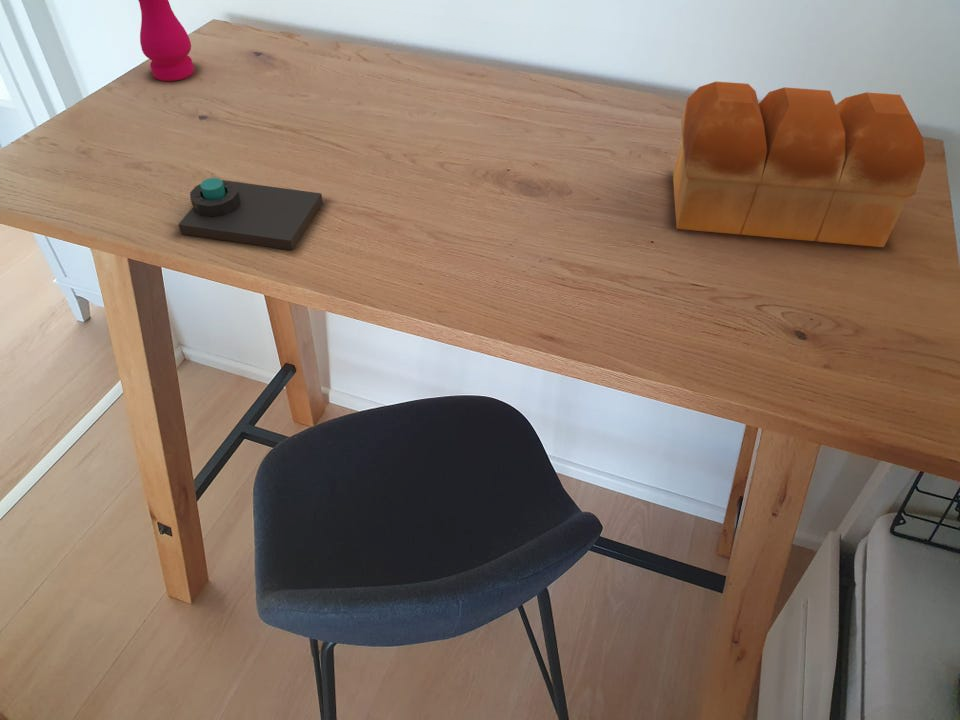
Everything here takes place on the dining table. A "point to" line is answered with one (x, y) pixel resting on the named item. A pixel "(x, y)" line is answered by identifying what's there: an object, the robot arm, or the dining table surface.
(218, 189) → the button
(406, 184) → the dining table surface
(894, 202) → the bread
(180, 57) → the pepper mill
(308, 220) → the dark button base
